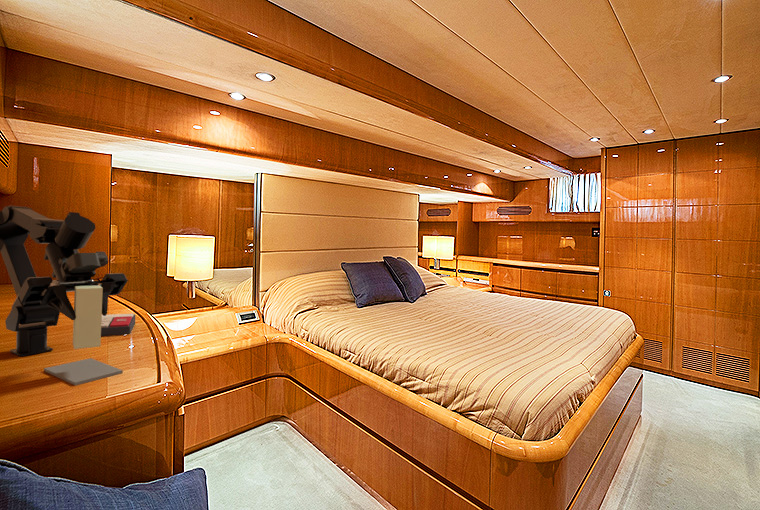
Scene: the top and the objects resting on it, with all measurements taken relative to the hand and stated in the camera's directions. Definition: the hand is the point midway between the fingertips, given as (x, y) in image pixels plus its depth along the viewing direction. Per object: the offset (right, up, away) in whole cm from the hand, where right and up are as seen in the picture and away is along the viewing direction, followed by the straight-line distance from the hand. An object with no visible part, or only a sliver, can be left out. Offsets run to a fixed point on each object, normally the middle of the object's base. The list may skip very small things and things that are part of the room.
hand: (90, 316), depth 82 cm
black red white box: (-21, -11, +37) cm, 44 cm away
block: (-2, -6, +1) cm, 7 cm away
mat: (-3, -13, +2) cm, 13 cm away
